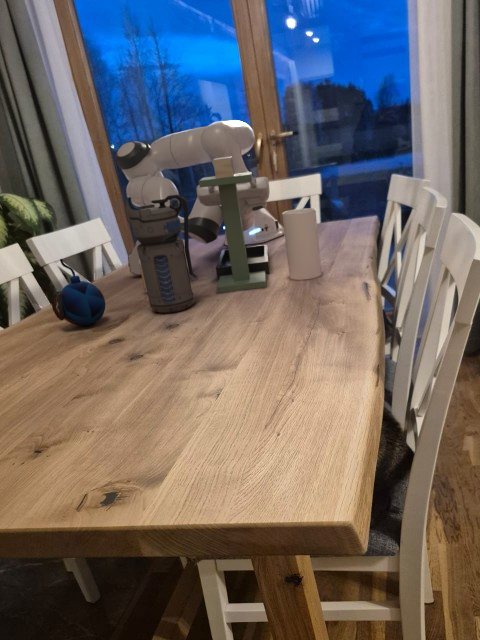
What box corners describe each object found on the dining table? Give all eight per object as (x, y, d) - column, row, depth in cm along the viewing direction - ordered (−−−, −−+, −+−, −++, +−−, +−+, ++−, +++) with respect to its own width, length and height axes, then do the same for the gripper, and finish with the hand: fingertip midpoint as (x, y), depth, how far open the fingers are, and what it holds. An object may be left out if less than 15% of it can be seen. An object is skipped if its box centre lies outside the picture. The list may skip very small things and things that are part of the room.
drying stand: (220, 281, 153) (203, 177, 142) (265, 276, 153) (251, 171, 142) (217, 293, 142) (198, 181, 131) (266, 287, 142) (250, 174, 131)
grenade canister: (205, 309, 130) (183, 192, 119) (146, 317, 129) (119, 200, 118) (205, 297, 139) (185, 188, 129) (150, 306, 138) (125, 196, 128)
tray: (223, 260, 179) (221, 250, 177) (268, 255, 179) (267, 244, 177) (217, 280, 155) (215, 268, 154) (269, 273, 155) (267, 261, 154)
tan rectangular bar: (222, 172, 152) (219, 156, 150) (237, 170, 152) (234, 154, 150) (215, 178, 132) (212, 159, 130) (233, 176, 132) (230, 157, 130)
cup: (284, 280, 147) (276, 214, 140) (297, 272, 153) (289, 209, 147) (315, 279, 143) (308, 212, 137) (326, 271, 150) (320, 207, 143)
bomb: (54, 328, 130) (34, 261, 123) (101, 315, 135) (84, 250, 129) (67, 336, 122) (46, 266, 116) (116, 322, 128) (99, 254, 122)
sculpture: (145, 283, 186) (177, 264, 186) (138, 286, 169) (173, 265, 169) (125, 252, 183) (158, 233, 183) (116, 251, 166) (152, 231, 166)
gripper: (199, 194, 169) (190, 171, 155) (269, 185, 169) (266, 162, 155) (202, 215, 169) (193, 194, 155) (271, 206, 169) (268, 185, 155)
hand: (230, 178), depth 155 cm, fingers open, 8 cm apart
